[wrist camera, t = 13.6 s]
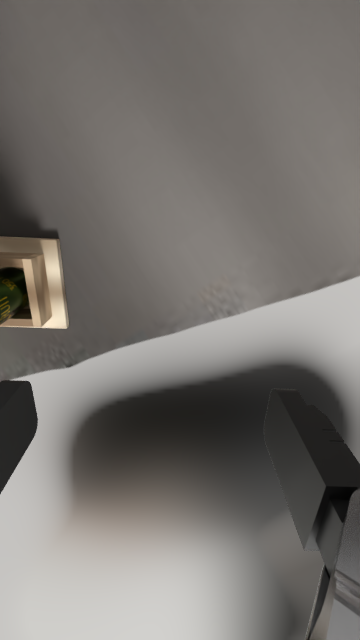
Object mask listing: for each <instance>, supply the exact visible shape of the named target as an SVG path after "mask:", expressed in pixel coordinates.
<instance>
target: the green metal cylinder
mask: <svg viewBox="0 0 360 640" xmlns="http://www.w3.org/2000/svg"><path fill="white" fill-rule="evenodd" d="M29 304H30V303H29V297H28V291H27V285H26V279H25V274H24V271H23V270H21V269H18V268H15V267H5V268H1V269H0V325H1V324H2V323H4V322H5V321H7V320H8V319H9V318H11V317H12V316H13V315H15V314H16V313H18V312H19V311H20V310H22V309H23V308H24V307H26V306H27V305H29Z"/></svg>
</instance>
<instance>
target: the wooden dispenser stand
mask: <svg viewBox="0 0 360 640" xmlns="http://www.w3.org/2000/svg"><path fill="white" fill-rule="evenodd" d="M5 267H15V268H18V269H21V270H23V271H24V274H25V279H26V285H27V291H28V297H29V303H30V304H29V305H27V306H26V307H24V308H23V309H22V310H20V311H19V312H18V313H16V314H15V315H13V316H12V317H11V318H9V319H8V320H7V321H5V322H4V323H2V324H1V325H0V326H5V327H35V328H64V329H67V328H68V327H69V319H68V311H67V302H66V294H65V285H64V276H63V268H62V259H61V250H60V242H59V239H49V238H24V237H0V269H1V268H5Z"/></svg>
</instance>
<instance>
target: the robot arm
mask: <svg viewBox="0 0 360 640" xmlns="http://www.w3.org/2000/svg"><path fill="white" fill-rule="evenodd" d="M37 421H38V418H37V413H36V407H35V402H34V397H33V391H32V387H31V384H30V382H29V381H10V380H4V381H1V382H0V494H1V492H2V490H3V489H4V487H5V485H6V484H7V482H8V480H9V478H10V477H11V475H12V473H13V472H14V470H15V468H16V467H17V465H18V463H19V462H20V460H21V458H22V456H23V455H24V453H25V451H26V450H27V448H28V446H29V445H30V443H31V441H32V440H33V438H34V436H35V433H36V429H37V423H38V422H37ZM264 438H265V443H266V446H267V449H268V451H269V454H270V457H271V460H272V463H273V465H274V468H275V471H276V474H277V477H278V479H279V482H280V485H281V488H282V490H283V493H284V496H285V499H286V501H287V504H288V507H289V510H290V512H291V515H292V518H293V521H294V524H295V526H296V529H297V532H298V535H299V537H300V540H301V543H302V546H303V549H304V550H310V551H312V550H313V551H320V553H321V555H322V558H323V560H324V563H325V564H324V566H323V569H322V573H321V576H320V581H319V585H318V589H317V593H316V597H315V601H314V605H313V609H312V613H311V617H310V621H309V625H308V629H307V633H306V637H305V640H360V464H359V462H358V461H357V459H356V458H355V456H354V455H353V454H352V452H351V451H350V449H349V448H348V446H347V445H346V444H344V440H343V439H342V437H341V436H340V435H339V433H338V432H336V429H335V427H334V426H333V424H332V423H331V421H330V420H329V419H328V417H327V416H326V415H325V414H323V413H322V412H321V411H320V410H318V409H317V408H316V407H315V406H313V405H306V403H305V401H304V400H303V398H302V397H301V395H300V393H299V392H298V391H297V390H296V389H272V390H271V393H270V398H269V402H268V408H267V412H266V418H265V422H264Z"/></svg>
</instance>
